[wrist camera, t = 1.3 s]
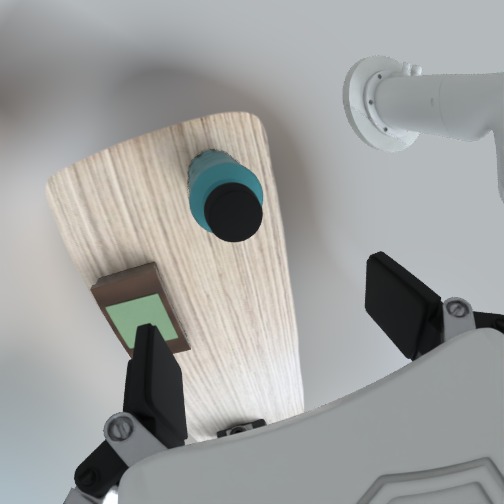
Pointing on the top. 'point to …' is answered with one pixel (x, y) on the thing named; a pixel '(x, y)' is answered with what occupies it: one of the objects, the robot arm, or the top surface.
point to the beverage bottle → (224, 196)
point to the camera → (241, 428)
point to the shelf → (139, 306)
